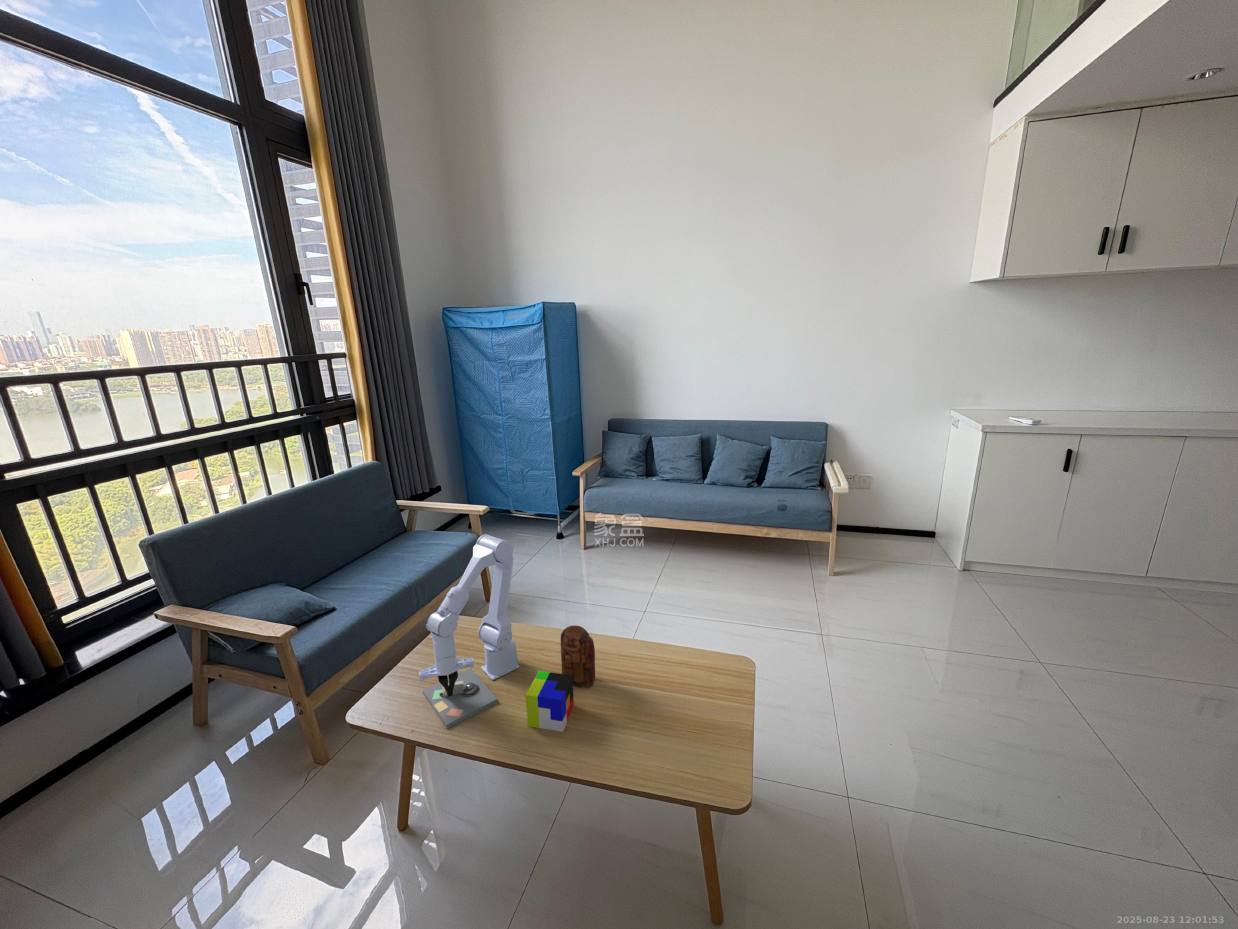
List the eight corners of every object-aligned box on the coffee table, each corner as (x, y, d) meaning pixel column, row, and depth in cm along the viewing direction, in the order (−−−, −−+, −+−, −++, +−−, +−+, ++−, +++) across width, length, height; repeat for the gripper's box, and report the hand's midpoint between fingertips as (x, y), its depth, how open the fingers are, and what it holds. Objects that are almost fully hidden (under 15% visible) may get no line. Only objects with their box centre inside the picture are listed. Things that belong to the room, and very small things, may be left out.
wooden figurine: (555, 683, 149) (553, 631, 145) (564, 670, 155) (561, 619, 150) (592, 691, 145) (590, 637, 141) (599, 677, 151) (598, 625, 147)
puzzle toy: (563, 732, 130) (561, 700, 128) (527, 726, 132) (525, 695, 130) (573, 705, 140) (572, 675, 138) (540, 700, 142) (538, 670, 140)
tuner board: (471, 671, 155) (470, 668, 154) (497, 702, 141) (497, 698, 141) (423, 693, 145) (422, 689, 145) (446, 728, 132) (446, 724, 132)
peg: (477, 684, 147) (476, 675, 146) (476, 693, 143) (476, 684, 142) (440, 691, 144) (439, 682, 143) (439, 700, 140) (438, 691, 140)
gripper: (469, 638, 144) (473, 678, 147) (416, 651, 138) (422, 692, 142) (473, 651, 138) (477, 693, 141) (417, 665, 132) (423, 708, 135)
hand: (449, 694), depth 141 cm, fingers closed, pressing on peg
